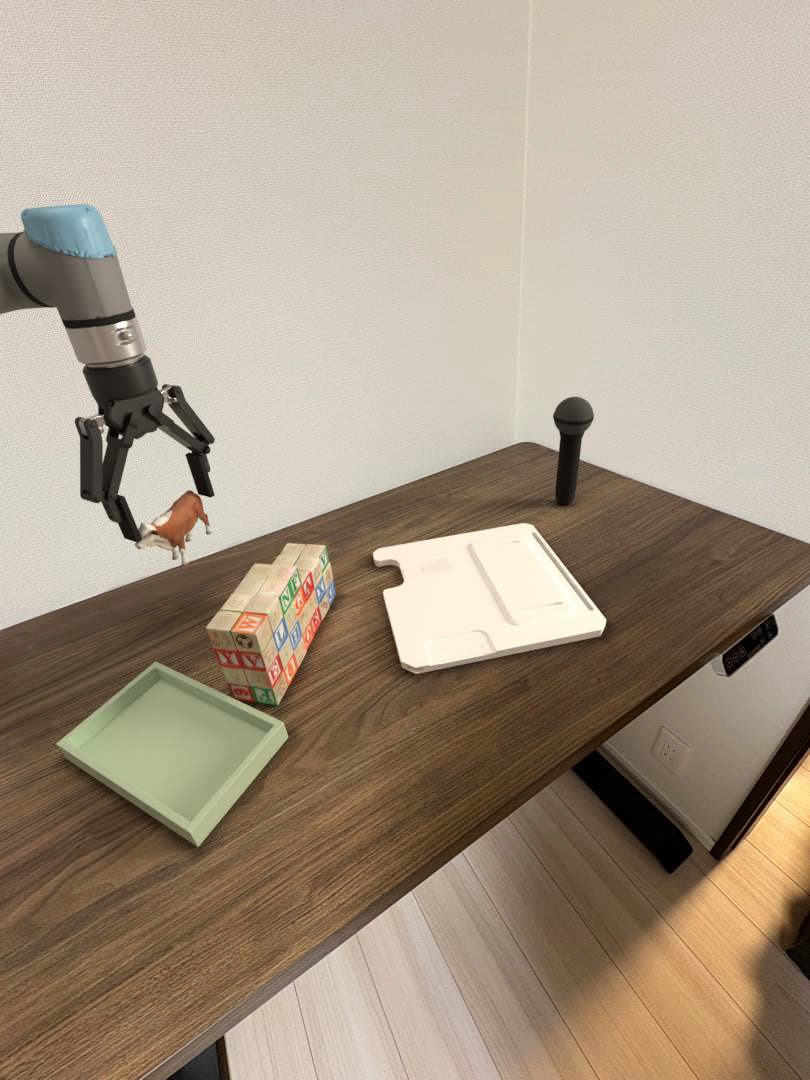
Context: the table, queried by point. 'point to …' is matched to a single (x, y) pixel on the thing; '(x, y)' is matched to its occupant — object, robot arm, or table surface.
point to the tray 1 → (175, 749)
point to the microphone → (570, 444)
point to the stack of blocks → (272, 622)
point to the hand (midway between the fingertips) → (172, 515)
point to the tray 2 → (483, 598)
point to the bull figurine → (175, 526)
